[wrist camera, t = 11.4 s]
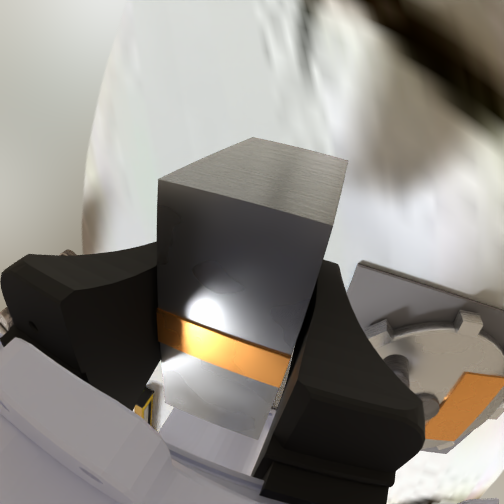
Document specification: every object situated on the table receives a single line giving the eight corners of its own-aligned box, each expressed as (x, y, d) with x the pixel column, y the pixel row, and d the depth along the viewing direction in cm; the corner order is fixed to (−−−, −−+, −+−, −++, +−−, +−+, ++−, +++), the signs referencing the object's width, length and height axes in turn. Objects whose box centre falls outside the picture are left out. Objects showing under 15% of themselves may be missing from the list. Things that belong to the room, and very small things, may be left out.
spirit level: (150, 465, 52) (144, 476, 50) (145, 462, 52) (138, 472, 50) (155, 389, 34) (142, 407, 32) (145, 384, 34) (132, 402, 32)
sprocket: (370, 458, 27) (364, 491, 24) (276, 363, 24) (260, 404, 21) (525, 405, 18) (533, 441, 15) (491, 264, 15) (513, 305, 12)
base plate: (290, 418, 28) (289, 421, 28) (357, 263, 19) (357, 266, 18) (446, 451, 24) (446, 454, 24) (557, 329, 15) (559, 332, 15)
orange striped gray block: (227, 307, 15) (163, 403, 10) (252, 137, 11) (155, 180, 6) (298, 331, 15) (257, 441, 10) (348, 160, 11) (333, 227, 5)
